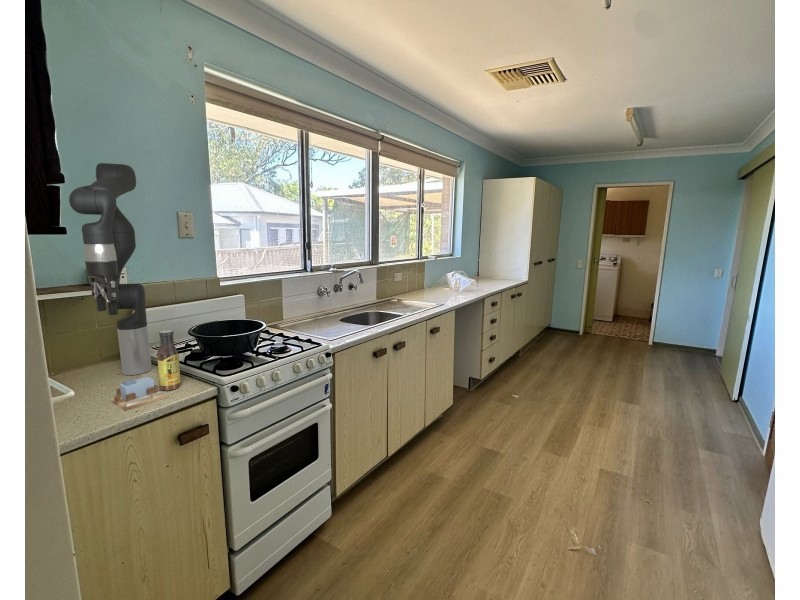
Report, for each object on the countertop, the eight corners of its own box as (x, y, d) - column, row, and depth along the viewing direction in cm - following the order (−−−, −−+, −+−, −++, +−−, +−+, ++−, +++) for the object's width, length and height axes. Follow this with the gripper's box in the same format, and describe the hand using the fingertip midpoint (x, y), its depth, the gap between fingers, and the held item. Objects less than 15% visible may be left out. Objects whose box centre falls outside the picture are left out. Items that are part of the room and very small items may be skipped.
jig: (110, 401, 121) (109, 390, 121) (150, 389, 131) (149, 379, 130) (125, 411, 115) (123, 400, 115) (166, 397, 125) (165, 387, 124)
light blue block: (121, 397, 122) (119, 381, 121) (149, 389, 128) (147, 373, 127) (126, 401, 119) (124, 384, 118) (154, 392, 126) (153, 376, 125)
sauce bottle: (171, 392, 128) (165, 334, 125) (155, 390, 130) (149, 333, 126) (185, 384, 135) (180, 329, 131) (170, 383, 136) (164, 328, 132)
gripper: (76, 258, 115) (83, 311, 119) (94, 261, 108) (102, 318, 111) (106, 257, 122) (112, 307, 125) (125, 260, 114) (131, 314, 117)
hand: (107, 312), depth 118 cm, fingers open, 8 cm apart
